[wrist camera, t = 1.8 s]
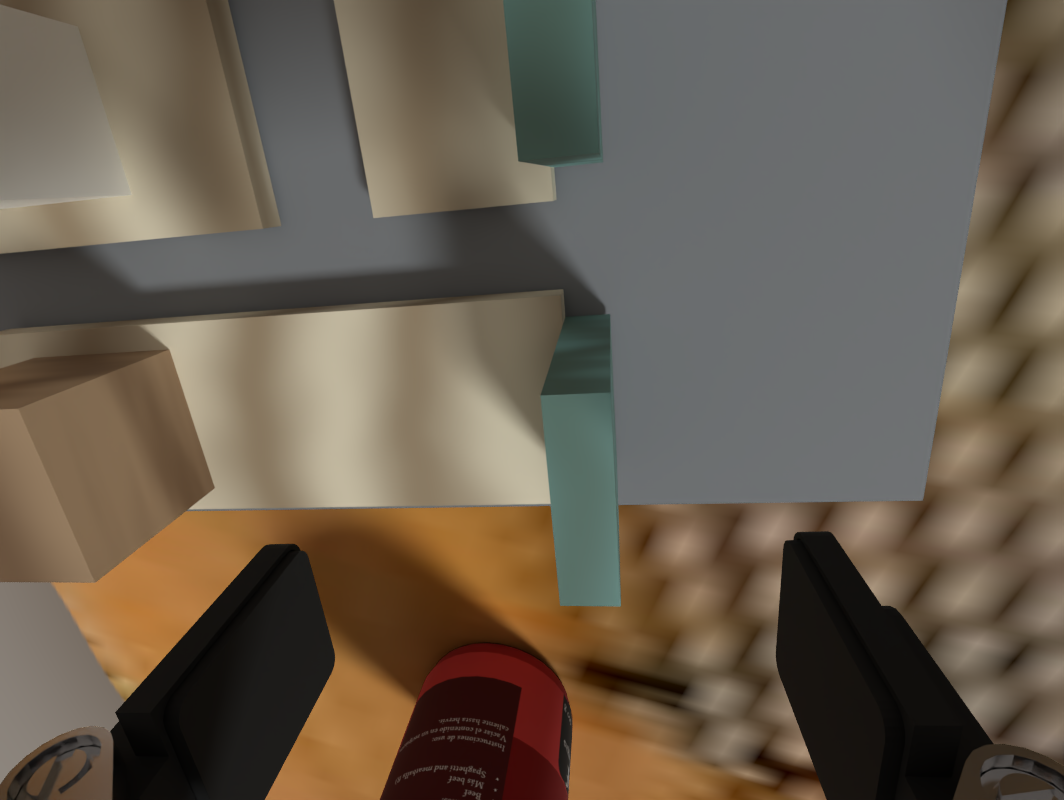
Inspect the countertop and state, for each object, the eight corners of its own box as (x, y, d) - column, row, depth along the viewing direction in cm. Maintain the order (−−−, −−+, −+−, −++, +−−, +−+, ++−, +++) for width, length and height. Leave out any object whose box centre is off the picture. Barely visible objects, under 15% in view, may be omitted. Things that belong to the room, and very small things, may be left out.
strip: (608, 285, 20) (608, 349, 13) (618, 487, 23) (622, 636, 15) (10, 328, 24) (-263, 397, 16) (81, 497, 26) (-123, 621, 19)
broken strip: (590, -106, 16) (574, -346, 9) (604, 195, 19) (601, 206, 11) (-122, 19, 20) (-558, -75, 12) (-22, 254, 23) (-328, 292, 15)
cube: (169, 349, 22) (18, 408, 16) (214, 488, 24) (94, 582, 18) (33, 358, 23) (-154, 416, 17) (89, 490, 25) (-62, 581, 19)
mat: (1019, -205, 15) (1045, -230, 14) (910, 487, 23) (923, 500, 22) (-116, 0, 21) (-149, -9, 20) (93, 501, 28) (76, 512, 27)
